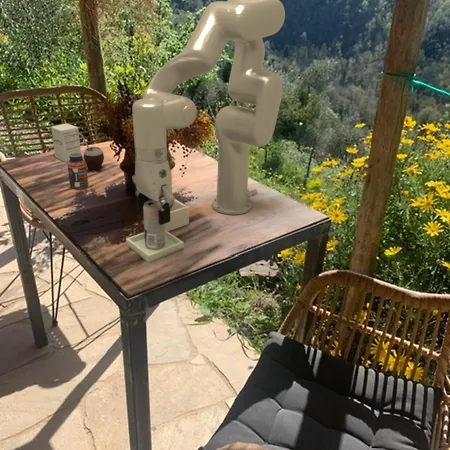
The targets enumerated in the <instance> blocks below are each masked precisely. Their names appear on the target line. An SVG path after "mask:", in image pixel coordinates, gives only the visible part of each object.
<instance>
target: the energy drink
mask: <svg viewBox="0 0 450 450" xmlns="http://www.w3.org/2000/svg"><path fill="white" fill-rule="evenodd" d="M162 205H163V202H162ZM158 210H160V208H159V206H158V204H157V201H154V200H152V199H149V201H147V202H145V203H144V207H143V210H142V211H143V226H144V227H143V231H144V233H145V245H146V247H147V248H149V249H160V248H162V247H163V246H164V245H165V224H162V225H160V224H159V217H158Z"/></svg>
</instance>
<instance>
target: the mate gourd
mask: <svg viewBox="0 0 450 450" xmlns="http://www.w3.org/2000/svg"><path fill="white" fill-rule="evenodd" d="M75 132H77V131H75ZM77 133H78V134H79V136H80V137H81V138H82V140H83V141H84V144H85V145H86V147H87V148H85V150H84V152H83V160H84V161H85V162H86V169H87V173H91V172H94V171H96V172H98V173H101V172H102V169H103V163H104V160H105V155H104V152H103V150H102V149H101V148H100V147H97V146H89V145H88V143H87V141H86V138H85V136H84V135H83V134H82V133H81V132H77Z"/></svg>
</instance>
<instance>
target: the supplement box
mask: <svg viewBox="0 0 450 450" xmlns="http://www.w3.org/2000/svg"><path fill="white" fill-rule="evenodd" d="M75 131H77V132H79V127H78V126H76V125H73V124H70V123H61V124H58V125H52V126H51V134H52V135H51V136H52V141H53V149H54V155H55V159H58V160H61V161H63V162H65V163H68V161H69V160H70V157H69V155H70V154H73V153H80V154H82V151H81V141H80V135H79V134H78V133H77V132H75ZM79 133H80V132H79Z"/></svg>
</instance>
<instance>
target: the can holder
mask: <svg viewBox="0 0 450 450" xmlns="http://www.w3.org/2000/svg"><path fill="white" fill-rule="evenodd" d="M161 202H163V205H164V204H165V200H162V201H161ZM189 224H190V206H188V205H186V204H185V203H183V202H181V201H180V200H177V199H176V198H175V200H174V203H173V206H172V208H171V209H170V222H168V223H165V230H166V231H168V232H171V231H173V230H175V229H179V228H181V227H184V226H187V225H189Z"/></svg>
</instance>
